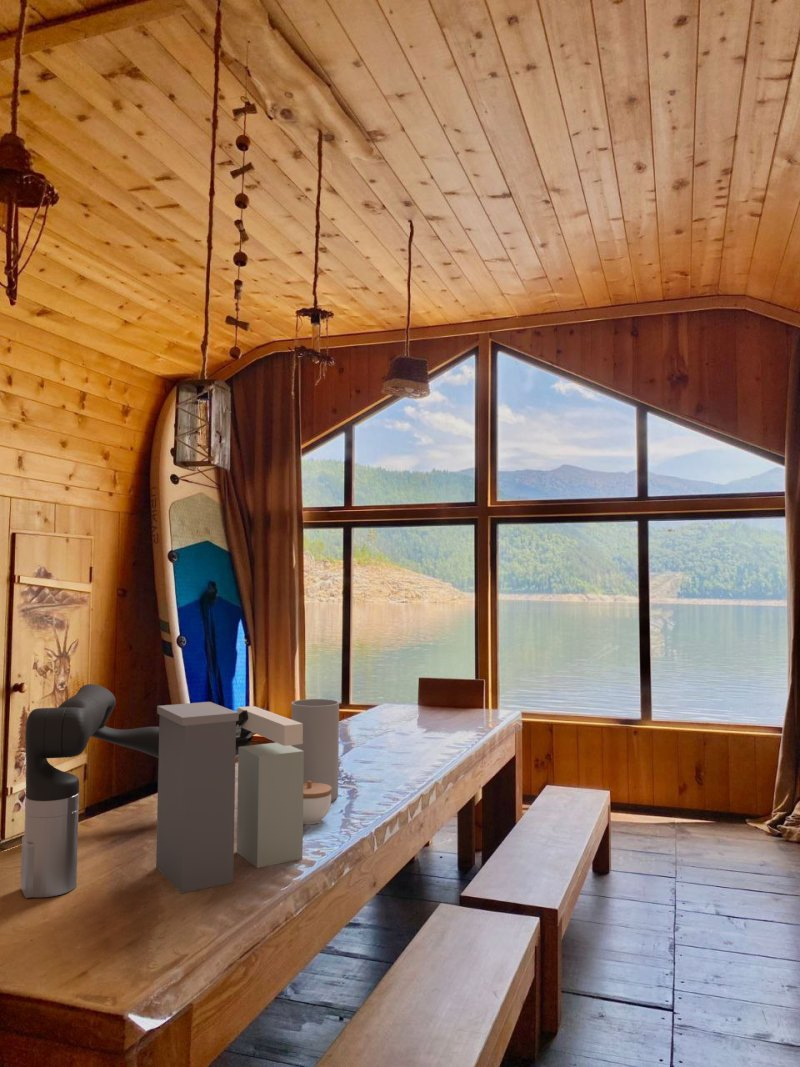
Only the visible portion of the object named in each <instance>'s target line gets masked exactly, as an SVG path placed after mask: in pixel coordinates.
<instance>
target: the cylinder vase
mask: <svg viewBox="0 0 800 1067" xmlns="http://www.w3.org/2000/svg"><path fill="white" fill-rule="evenodd" d="M290 719H291V720H294V721H297V722H300V723H302V724H303V744H297V745H290V746H293V747H295V748H298V749H300V750H302V751H304V775H303V783H307V781H312V783H323V784H327V785H329V786H331V787H332V793H331V802H333V801H335V800H336V799H337V798H338V796H339V754H340V752H339V751H340V750H339V746H340V745H339V743H340V742H339V738H340V737H339V736H340V735H339V734H340V702H339V701H338V700H333V699H328V698H327V699H325V698H324V699H323V698H310V699H309V698H308V699H297V700H294V701H291V718H290Z"/></svg>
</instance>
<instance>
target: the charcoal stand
mask: <svg viewBox="0 0 800 1067" xmlns="http://www.w3.org/2000/svg"><path fill="white" fill-rule="evenodd" d="M156 708H157V709H156V711H157V712H156V713H157V715H159V721H158V723H159V724H158V725H159V726H158V727H159V758H158V762H157V763H158V764H157V766H158V770H157V813H156V814H157V815H156V816H157V817H156V818H157V819H156V858H155V860H156V861H155V864H156V866H155V867H156V868H157V870H158V871H159V872H160V873H161V874H162V875H163V876H164V878H166V879H167V880H168V881H169V882H170V883H171V884H172V886H174V888H176V890H177V891H178V892H180V894H185V893H189V892H194V891H200V890H204V889H210V888H215V887H219V886H224V885H228V884H234V865H235V864H234V861H235V858H234V856H235V853H234V852H235V851H234V850H235V805H236V804H235V803H236V802H235V800H236V758H235V755H236V721H239V713H238V712H237V711H236V710H233V709H229V708H228V707H224V706H222V705H219V704H218V703H214V702H212V701H201V702H192V703H191V702H189V703H177V704H176V703H175V704H165V705H157V707H156Z"/></svg>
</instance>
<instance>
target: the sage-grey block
mask: <svg viewBox="0 0 800 1067" xmlns="http://www.w3.org/2000/svg"><path fill="white" fill-rule="evenodd" d="M237 758H238V759H237V764H238V765H237V804H236V805H237V808H236V811H237V815H236V816H237V818H236V853H237V854H239V855H240V856H241V857H242V858H243V859H245V860H246V861H248V862H249V863H250V864H251V865H253V866H254V867H255V868H263V867H264V868H265V867H269V866H274V865H278V864H279V865H280V864H284V863H288V862H294V861H297V860H303V835H304V834H303V832H304V831H303V830H304V829H303V828H304V824H303V775H304V751H302V750H300V749H298V748H295V747H293V746H291V745H288V746H283V745H281V744H279V743H276V742H269V743H261V744H260V743H259V744H251V745H250V744H249V745H248V746H241V747H238V756H237Z"/></svg>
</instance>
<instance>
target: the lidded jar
mask: <svg viewBox="0 0 800 1067" xmlns="http://www.w3.org/2000/svg"><path fill="white" fill-rule="evenodd" d="M331 793H332V787H331V786H329V785H327V784H323V783H312V781H307V783H303V825H317V824H320V823H321V822H323V819H324V818H326V816H327V815H328V813H329V810H330V807H331V802H332V801H331ZM319 822H320V823H319ZM316 823H317V824H316Z"/></svg>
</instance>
